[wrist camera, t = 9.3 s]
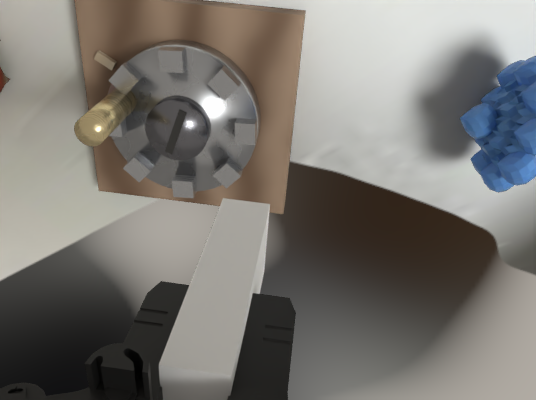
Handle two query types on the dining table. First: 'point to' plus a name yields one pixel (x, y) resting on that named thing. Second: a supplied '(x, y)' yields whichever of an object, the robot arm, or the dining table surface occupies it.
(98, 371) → the robot arm
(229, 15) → the base plate
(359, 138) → the dining table surface
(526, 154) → the grapes
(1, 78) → the fruit
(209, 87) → the crank wheel
